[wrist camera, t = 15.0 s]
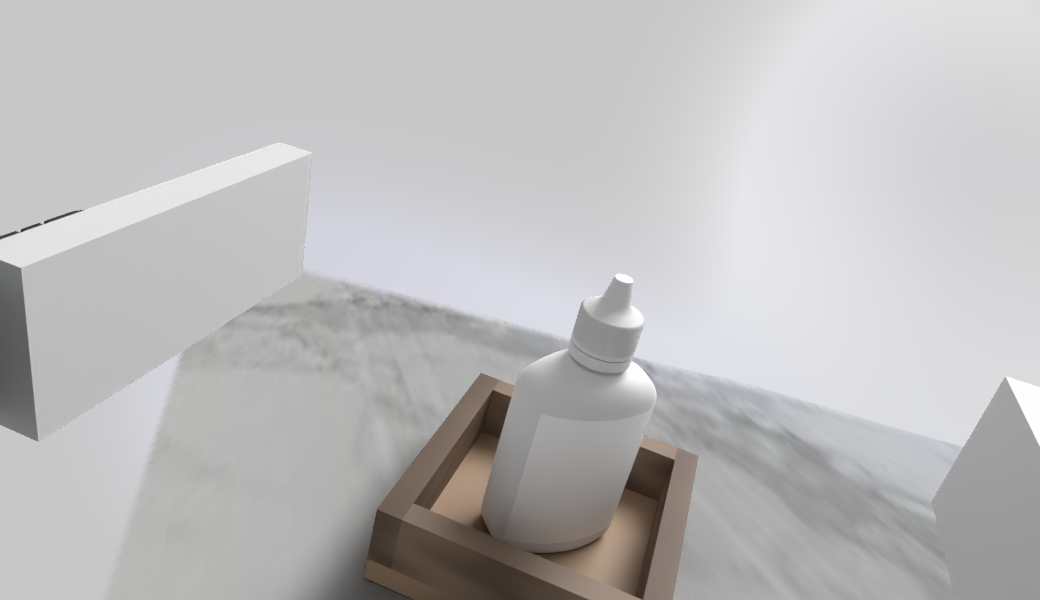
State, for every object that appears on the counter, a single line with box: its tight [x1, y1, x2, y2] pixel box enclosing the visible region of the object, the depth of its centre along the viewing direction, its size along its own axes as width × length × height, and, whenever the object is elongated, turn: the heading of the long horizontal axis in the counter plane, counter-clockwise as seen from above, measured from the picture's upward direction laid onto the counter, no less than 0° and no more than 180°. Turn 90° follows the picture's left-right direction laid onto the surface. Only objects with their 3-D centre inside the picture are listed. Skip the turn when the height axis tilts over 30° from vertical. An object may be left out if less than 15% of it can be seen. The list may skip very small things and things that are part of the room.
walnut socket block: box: [364, 373, 698, 600], centre depth 33 cm, size 11×11×4 cm
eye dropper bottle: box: [481, 274, 656, 553], centre depth 31 cm, size 4×6×12 cm
